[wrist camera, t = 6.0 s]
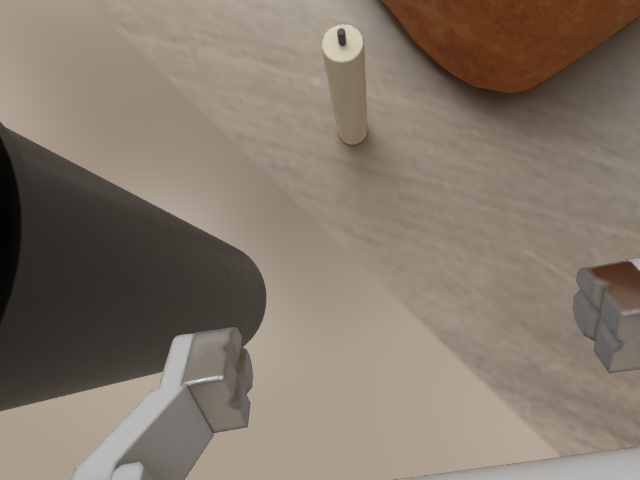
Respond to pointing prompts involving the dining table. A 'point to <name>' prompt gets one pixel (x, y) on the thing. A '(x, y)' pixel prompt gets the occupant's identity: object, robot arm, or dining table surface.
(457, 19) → the bread
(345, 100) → the candle
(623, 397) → the dining table surface
